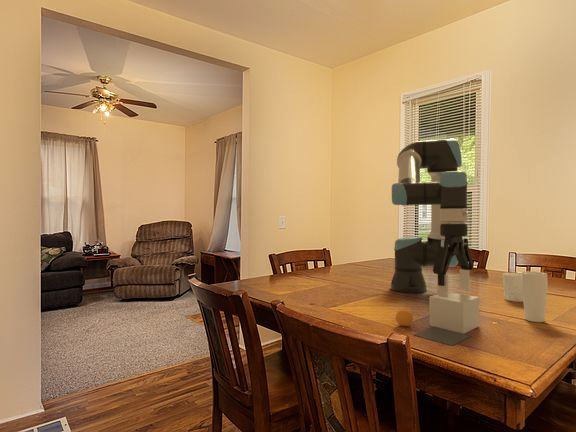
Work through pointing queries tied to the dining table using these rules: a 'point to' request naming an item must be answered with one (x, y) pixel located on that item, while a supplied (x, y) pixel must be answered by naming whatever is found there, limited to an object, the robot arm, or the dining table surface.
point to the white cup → (513, 287)
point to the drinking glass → (534, 295)
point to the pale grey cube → (454, 312)
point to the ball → (404, 317)
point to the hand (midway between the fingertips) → (454, 293)
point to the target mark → (443, 335)
